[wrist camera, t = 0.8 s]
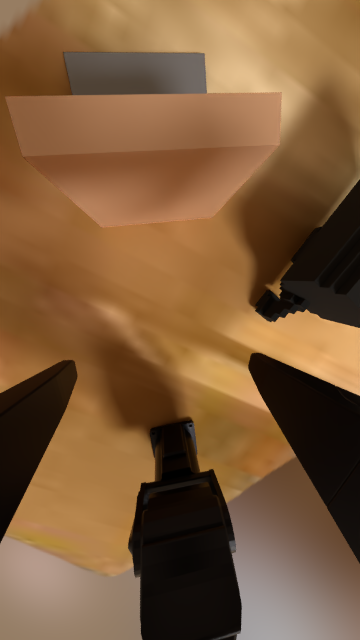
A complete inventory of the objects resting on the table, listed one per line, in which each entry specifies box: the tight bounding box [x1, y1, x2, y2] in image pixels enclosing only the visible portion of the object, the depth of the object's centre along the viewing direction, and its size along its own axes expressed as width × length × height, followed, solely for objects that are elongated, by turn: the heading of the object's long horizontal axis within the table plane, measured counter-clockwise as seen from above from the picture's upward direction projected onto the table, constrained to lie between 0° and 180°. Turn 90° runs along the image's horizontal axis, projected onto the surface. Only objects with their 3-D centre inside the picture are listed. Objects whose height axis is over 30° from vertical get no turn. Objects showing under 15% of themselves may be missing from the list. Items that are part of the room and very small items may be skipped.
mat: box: [63, 52, 207, 95], centre depth 16 cm, size 10×12×1 cm
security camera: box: [255, 180, 360, 328], centre depth 17 cm, size 7×18×10 cm, turn 144°
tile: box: [5, 92, 282, 227], centre depth 13 cm, size 2×12×11 cm, turn 97°
